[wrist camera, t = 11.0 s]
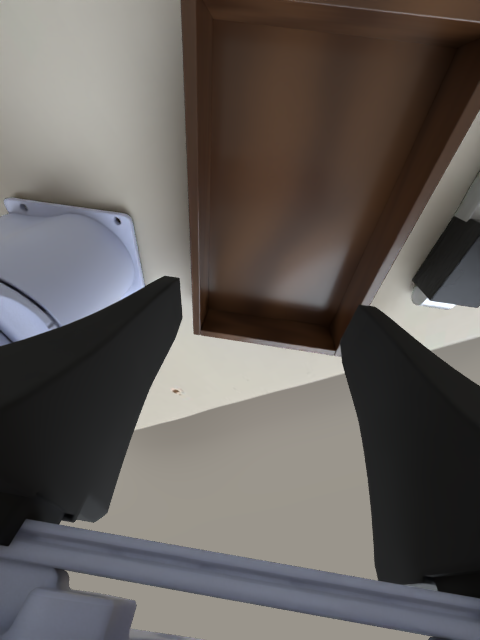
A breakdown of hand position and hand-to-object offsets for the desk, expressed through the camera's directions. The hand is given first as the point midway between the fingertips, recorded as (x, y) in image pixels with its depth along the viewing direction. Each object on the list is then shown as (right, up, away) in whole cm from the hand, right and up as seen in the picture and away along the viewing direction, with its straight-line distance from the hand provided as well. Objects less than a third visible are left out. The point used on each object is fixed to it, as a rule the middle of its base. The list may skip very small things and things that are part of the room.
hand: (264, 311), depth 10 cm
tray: (+2, +6, +7) cm, 10 cm away
